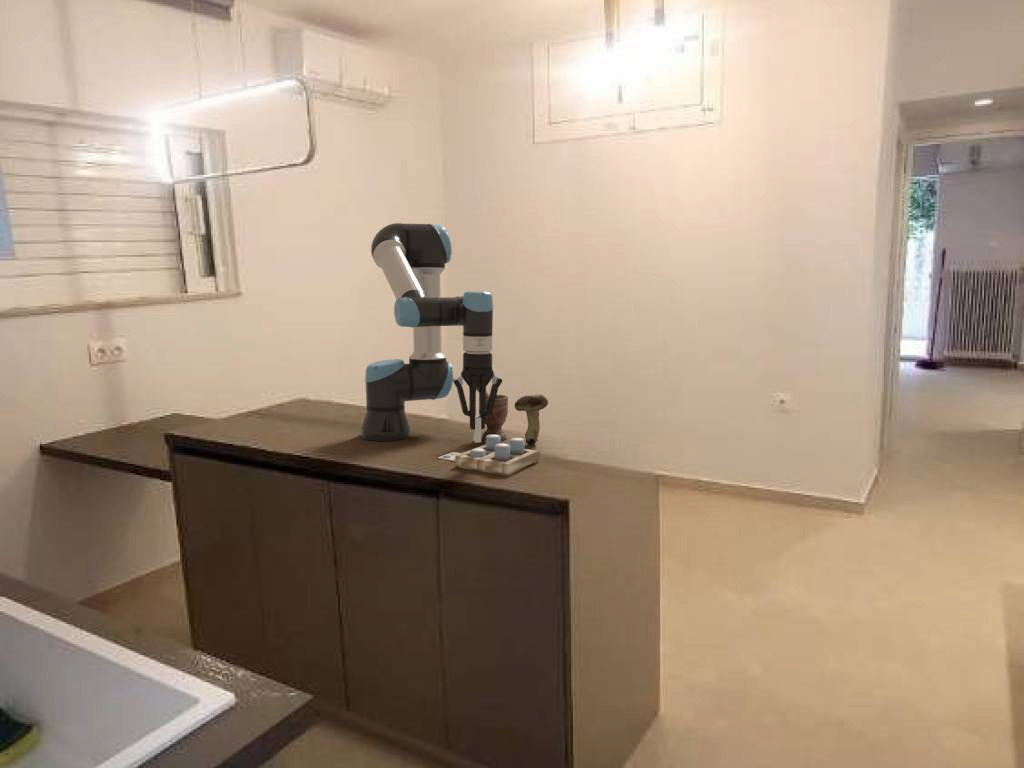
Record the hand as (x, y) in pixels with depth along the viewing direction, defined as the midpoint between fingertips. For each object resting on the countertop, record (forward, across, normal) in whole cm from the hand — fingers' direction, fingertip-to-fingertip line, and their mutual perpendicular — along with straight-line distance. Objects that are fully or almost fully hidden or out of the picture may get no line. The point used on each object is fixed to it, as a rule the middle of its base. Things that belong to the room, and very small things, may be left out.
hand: (477, 441), depth 188 cm
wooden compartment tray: (+7, +5, -1) cm, 8 cm away
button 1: (+6, 0, -1) cm, 6 cm away
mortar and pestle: (+7, +10, +28) cm, 30 cm away
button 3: (+4, +5, -6) cm, 9 cm away
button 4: (+4, +11, -1) cm, 11 cm away
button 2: (+4, +5, +5) cm, 8 cm away
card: (+7, -4, +9) cm, 12 cm away
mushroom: (+7, +20, +18) cm, 28 cm away
